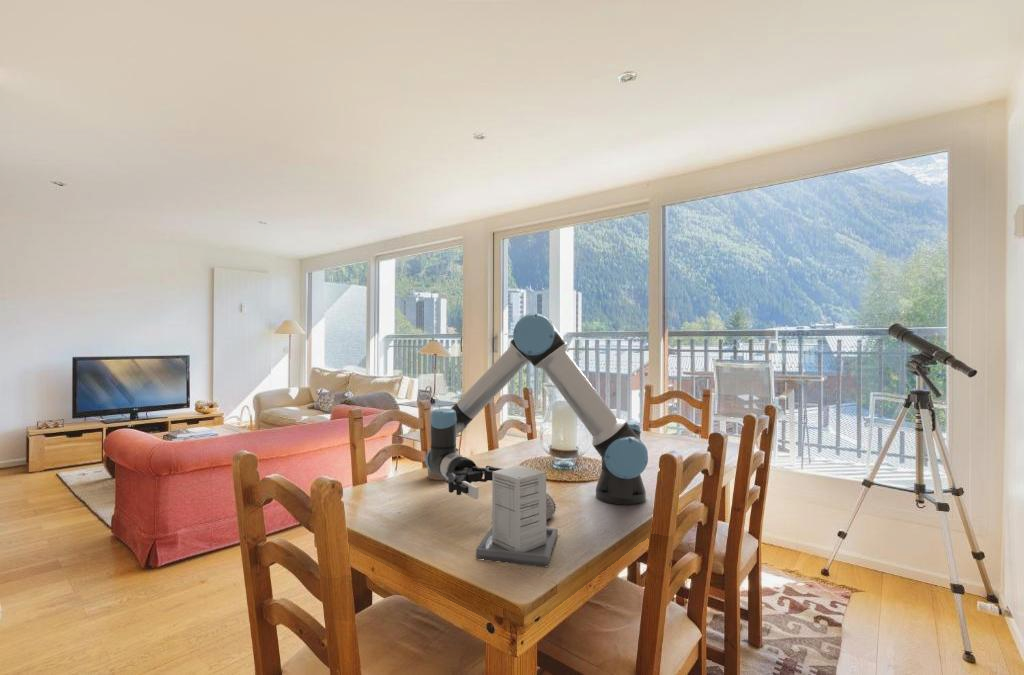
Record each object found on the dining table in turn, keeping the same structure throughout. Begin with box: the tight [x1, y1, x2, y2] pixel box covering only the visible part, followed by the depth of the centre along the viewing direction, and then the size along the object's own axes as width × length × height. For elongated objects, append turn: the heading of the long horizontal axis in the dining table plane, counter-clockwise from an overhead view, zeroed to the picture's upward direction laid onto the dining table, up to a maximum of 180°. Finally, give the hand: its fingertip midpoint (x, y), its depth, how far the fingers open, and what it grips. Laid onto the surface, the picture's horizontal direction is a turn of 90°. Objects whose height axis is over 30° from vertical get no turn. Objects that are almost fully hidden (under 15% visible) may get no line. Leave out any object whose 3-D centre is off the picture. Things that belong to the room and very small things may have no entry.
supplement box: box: [491, 465, 547, 552], centre depth 115 cm, size 10×9×17 cm
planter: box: [427, 447, 460, 482], centre depth 174 cm, size 11×11×10 cm
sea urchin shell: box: [546, 492, 557, 521], centre depth 136 cm, size 13×14×8 cm
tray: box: [475, 526, 559, 567], centre depth 115 cm, size 16×16×2 cm
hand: (500, 488), depth 121 cm, fingers open, 13 cm apart
